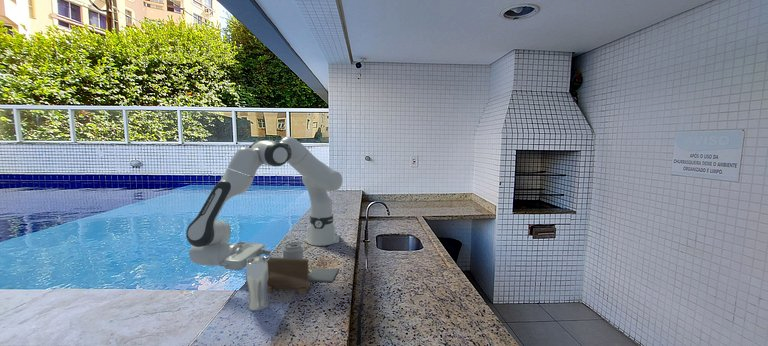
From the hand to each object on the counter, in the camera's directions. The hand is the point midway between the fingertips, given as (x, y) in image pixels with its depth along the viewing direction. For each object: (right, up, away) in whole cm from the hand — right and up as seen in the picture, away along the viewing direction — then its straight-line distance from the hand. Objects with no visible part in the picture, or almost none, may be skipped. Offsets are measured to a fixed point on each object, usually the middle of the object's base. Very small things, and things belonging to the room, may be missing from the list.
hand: (265, 256), depth 123 cm
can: (+11, -7, 0) cm, 13 cm away
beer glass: (+7, -9, -25) cm, 28 cm away
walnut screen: (+13, -8, -13) cm, 20 cm away
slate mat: (+23, -7, -1) cm, 24 cm away
